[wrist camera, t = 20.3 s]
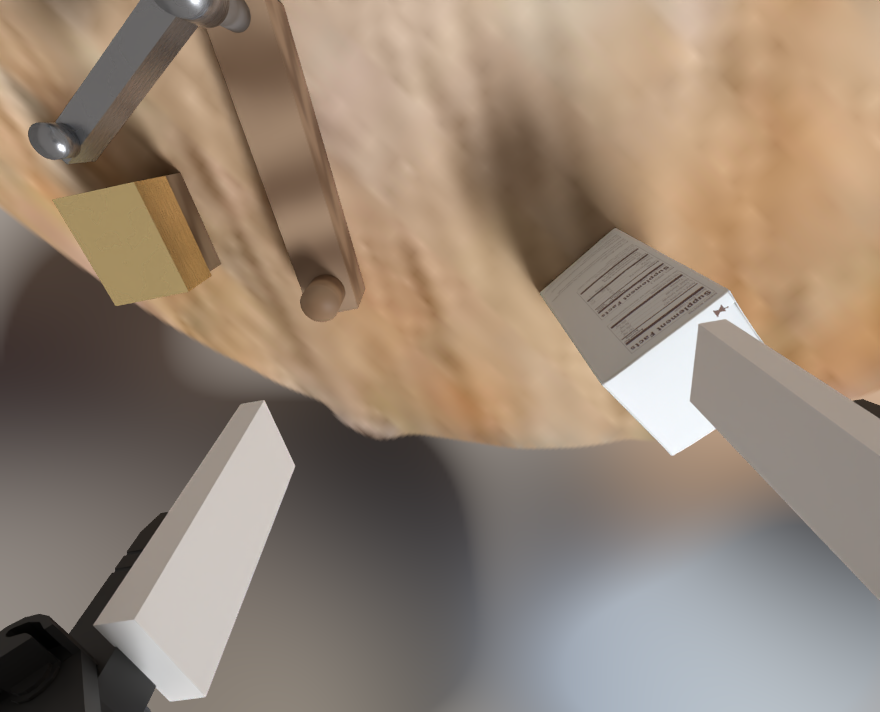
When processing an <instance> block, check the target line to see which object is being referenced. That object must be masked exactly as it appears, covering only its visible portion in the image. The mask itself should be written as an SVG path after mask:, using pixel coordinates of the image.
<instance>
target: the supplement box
mask: <svg viewBox="0 0 880 712" xmlns="http://www.w3.org/2000/svg"><path fill="white" fill-rule="evenodd" d="M540 295H541V296H542V298H543V299H544V301H545V302H546V304H547V305H548V307H549V308H550V310H551V311H552V313H553V314H554V316H555V317H556V318H557V320H558V321H559V323H560V324H561V326H562V327H563V329H564V330H565V332H566V333H567V334H568V336H569V337H570V339H571V340H572V342H573V343H574V345H575V346H576V348H577V349H578V351H579V352H580V354H581V355H582V357H583V358H584V360H585V361H586V363H587V364H588V366H589V367H590V368H591V370H592V371H593V373H594V374H595V376H596V377H597V379H598V380H599V382H600V383H601V385H602V386H603V387H604V388H605V389H606V390H607V391H608V392H609V393H610V394H611V395H612V396H613V397H614V398H615V399H616V400H617V401H618V402H619V403H620V404H621V405H622V406H623V407H624V408H625V409H626V410H627V411H628V412H629V413H630V414H631V415H632V416H633V417H634V418H635V419H636V420H637V421H638V422H639V423H640V424H641V425H642V426H643V427H644V428H645V429H646V430H647V431H648V432H649V433H650V434H651V435H652V436H653V437H654V438H655V439H656V440H657V441H658V442H659V443H660V444H661V445H662V446H663V447H664V448H665V449H666V450H667V452H668V453H669V454H670V455H675V454H676V453H678V452H680V451H682V450H683V449H685V448H687V447H688V446H690V445H692V444H693V443H695V442H696V441H698V440H699V439H701V438H703V437H704V436H706V435H707V434H708V433H710V432H712V431H713V430H715V429H716V428H715V427H714V426H713V425H712V424H711V423H710V422H709V421H708V420H707V419H706V418H705V417H704V416H703V415H702V414H701V413H700V412H699V410H698V409H697V408H696V407H695V406H694V405H693V404H692V403H691V402H690V394H691V385H692V376H693V367H694V359H695V350H696V341H697V333H698V324H700V323H706V322H711V321H717V320H723V319H727V320H728V321H730V322H731V323H733V324H734V325H736V326H737V327H739V328H740V329H742V330H744V331H745V332H747V333H748V334H750V335H751V336H753V337H754V338H756V339H757V340H759V341H761V342H762V343H763V341H762V340H761V339H760V337H759V336H758V334H757V333H756V331H755V330H754V328H753V327H752V325H751V324H750V322H749V321H748V319H747V318H746V316H745V315H744V313H743V312H742V310H741V309H740V307H739V306H738V304H737V302H736V301H735V299H734V297H733V295H732V293H731V292H730V290H728V289H727V288H725V287H723V286H721V285H719V284H718V283H716V282H714V281H712V280H710V279H708V278H707V277H705V276H703V275H701V274H699V273H697V272H696V271H694V270H692V269H690V268H688V267H686V266H685V265H683V264H681V263H679V262H677V261H675V260H673V259H671V258H669V257H668V256H666V255H664V254H662V253H660V252H659V251H657V250H655V249H653V248H651V247H650V246H648V245H646V244H644V243H643V242H641V241H639V240H637V239H635V238H633V237H632V236H630V235H628V234H626V233H624V232H622V231H621V230H619V229H617V228H614V229H613V230H611V231H610V232H609V233H608V234H607V235H605V236H604V237H603V238H602V239H601V240H600V241H599V242H597V243H596V244H595V245H594V246H593V247H592V248H591V249H589V250H588V251H587V252H586V253H585V254H584V255H582V256H581V257H580V258H579V259H578V260H577V261H576V262H574V263H573V264H572V265H571V266H570V267H569V268H567V269H566V270H565V271H564V272H563V273H562V274H561V275H559V276H558V277H557V278H556V279H555V280H554V281H552V282H551V283H550V284H549V285H548V286H547V287H546V288H544V289H543V290H542V291H541V292H540Z"/></svg>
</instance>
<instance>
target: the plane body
mask: <svg viewBox="0 0 880 712" xmlns="http://www.w3.org/2000/svg"><path fill="white" fill-rule="evenodd" d="M206 29H207V32H208V35H209V38H210V40H211V43H212V46H213V49H214V51H215V54H216V57H217V60H218V62H219V65H220V68H221V70H222V73H223V76H224V79H225V81H226V84H227V87H228V90H229V92H230V95H231V98H232V101H233V103H234V106H235V109H236V112H237V114H238V117H239V120H240V123H241V125H242V128H243V131H244V134H245V136H246V139H247V142H248V144H249V147H250V150H251V153H252V155H253V158H254V161H255V164H256V166H257V169H258V172H259V175H260V177H261V180H262V183H263V186H264V188H265V191H266V194H267V197H268V199H269V202H270V205H271V208H272V210H273V213H274V216H275V219H276V221H277V224H278V227H279V229H280V232H281V235H282V238H283V240H284V243H285V246H286V249H287V251H288V254H289V257H290V260H291V262H292V265H293V268H294V271H295V273H296V276H297V279H298V282H299V284H300V287H301V290H302V293H303V294H302V296H301V299H300V304H301V308H302V310H303V312H304V313H305V315H306V316H308V317H309V318H310V319H312V320H314V321H318V322H326V321H329V320H331V319H333V318H334V317H335V316H336V315H337V313H338V312H341V311H347V310H352V309H357V308H358V307H359V304H360V302H361V299H362V296H363V294H364V291H365V286H364V282H363V279H362V275H361V272H360V269H359V265H358V262H357V258H356V255H355V251H354V248H353V244H352V241H351V237H350V234H349V230H348V227H347V223H346V220H345V217H344V213H343V210H342V206H341V203H340V199H339V196H338V192H337V189H336V185H335V182H334V178H333V175H332V171H331V168H330V165H329V161H328V158H327V154H326V151H325V147H324V144H323V140H322V137H321V133H320V130H319V126H318V123H317V119H316V116H315V112H314V109H313V106H312V102H311V99H310V95H309V92H308V88H307V85H306V81H305V78H304V74H303V71H302V67H301V64H300V60H299V57H298V54H297V50H296V47H295V43H294V40H293V36H292V33H291V29H290V26H289V22H288V19H287V15H286V12H285V8H284V5H282V4H281V3H280V2H279V1H278V0H230V4H229V11H228V14H227V16H226V18H225V20H224V21H223V22H222V23H221V24H220V25H219V26H217V27H214V28H206Z"/></svg>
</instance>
